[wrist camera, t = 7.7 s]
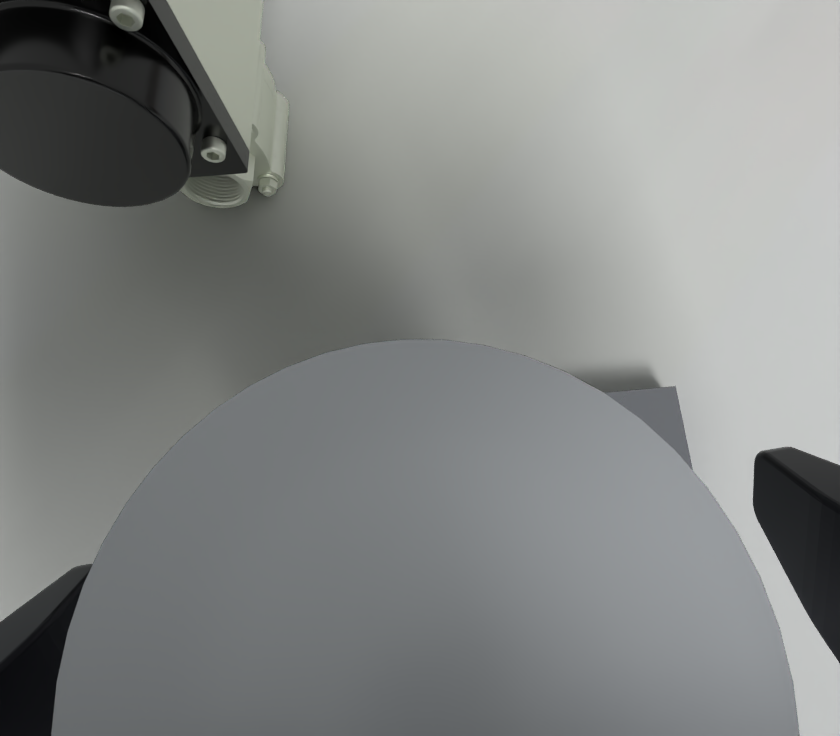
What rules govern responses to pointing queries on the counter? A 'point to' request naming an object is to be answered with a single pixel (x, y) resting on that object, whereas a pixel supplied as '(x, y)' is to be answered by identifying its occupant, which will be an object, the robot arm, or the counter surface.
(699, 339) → the counter surface
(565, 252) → the counter surface
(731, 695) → the grey cylinder
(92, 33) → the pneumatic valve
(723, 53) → the counter surface
